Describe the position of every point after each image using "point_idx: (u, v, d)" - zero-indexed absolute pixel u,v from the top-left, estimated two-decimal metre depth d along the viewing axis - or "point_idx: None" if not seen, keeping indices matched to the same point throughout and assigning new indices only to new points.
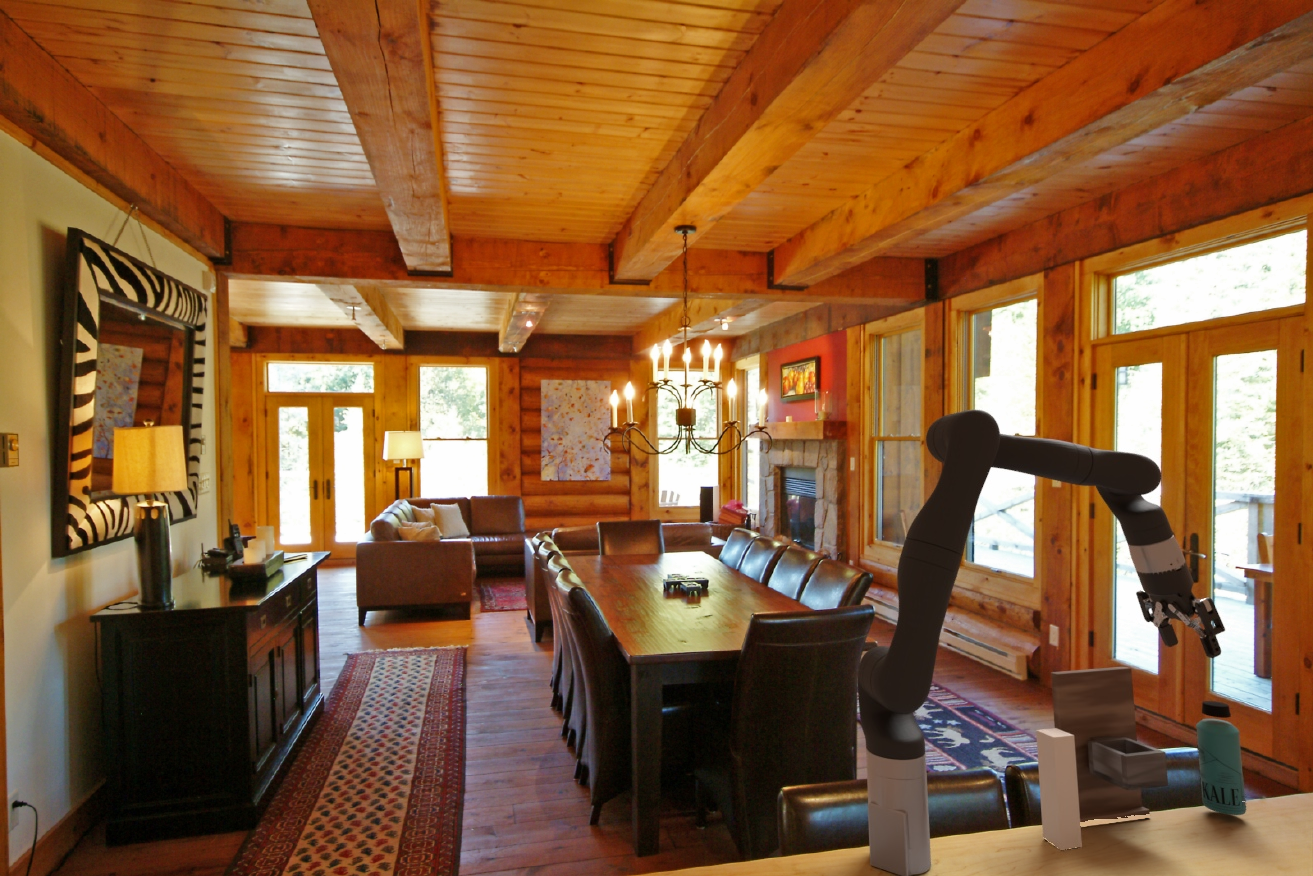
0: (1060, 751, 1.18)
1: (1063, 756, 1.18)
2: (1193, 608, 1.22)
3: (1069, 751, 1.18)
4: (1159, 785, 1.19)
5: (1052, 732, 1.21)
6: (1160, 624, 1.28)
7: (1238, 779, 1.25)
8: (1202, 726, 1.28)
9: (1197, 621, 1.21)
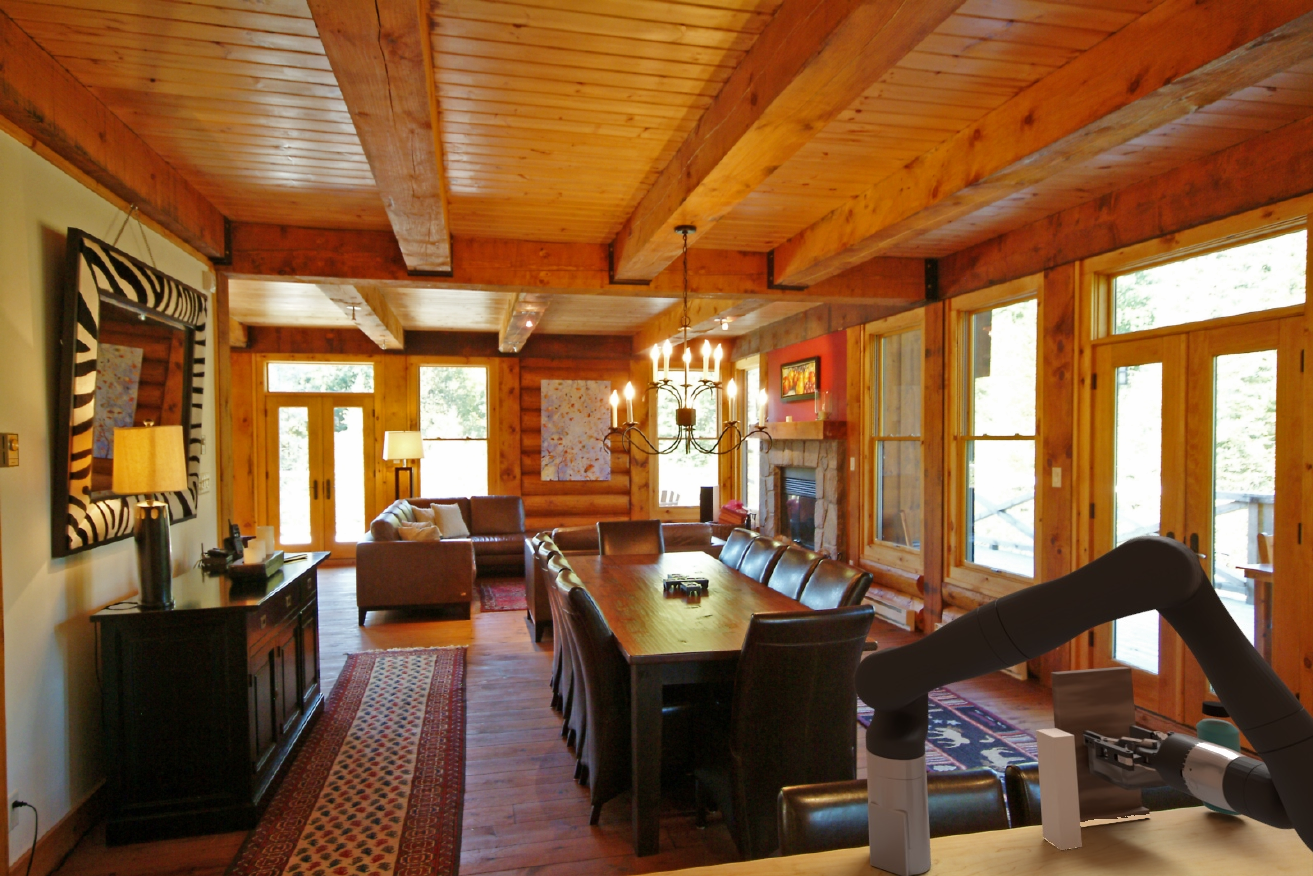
0: (1060, 751, 1.18)
1: (1063, 756, 1.18)
2: None
3: (1069, 751, 1.18)
4: (1159, 785, 1.19)
5: (1052, 732, 1.21)
6: (1154, 734, 1.06)
7: None
8: (1202, 726, 1.28)
9: (1121, 747, 1.03)
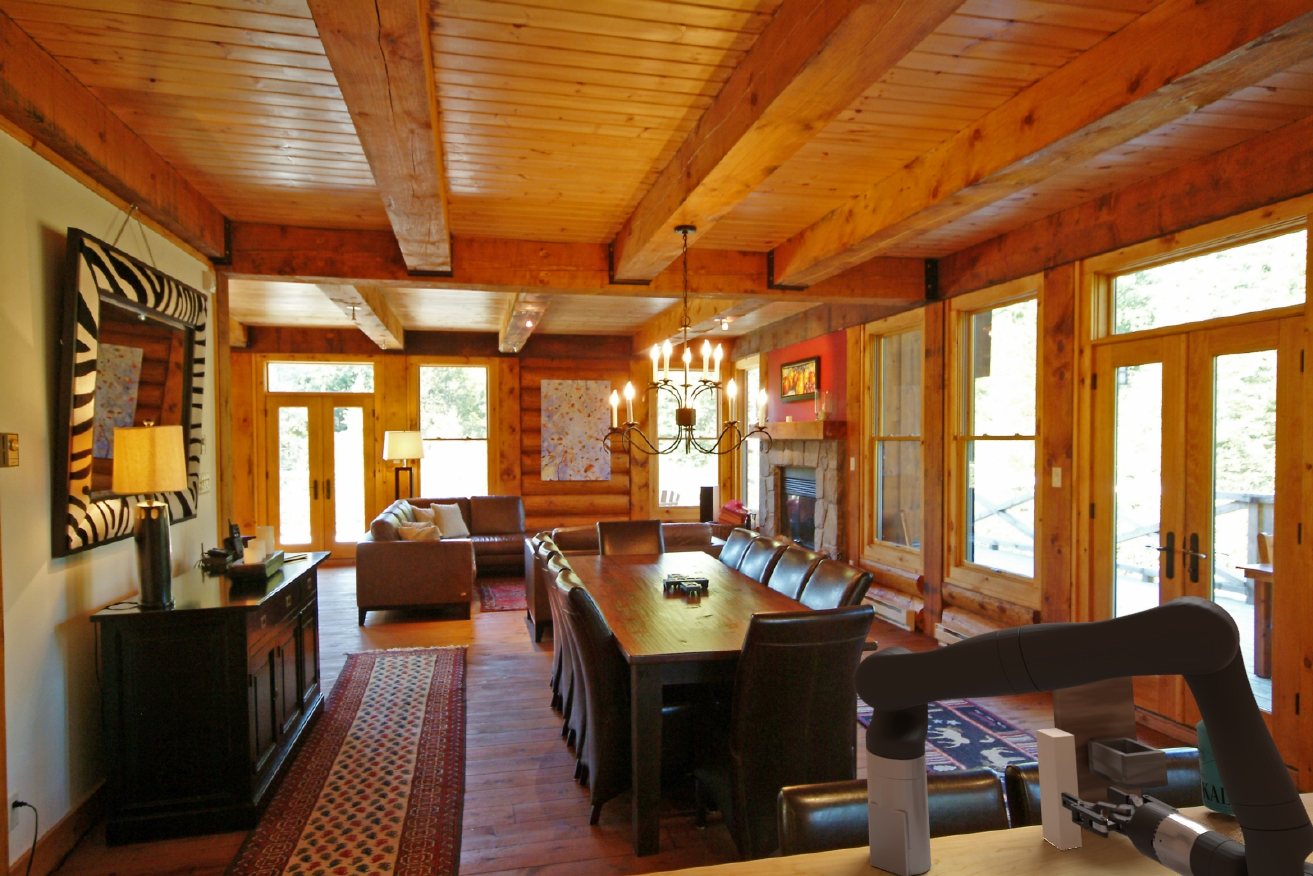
0: (1060, 751, 1.18)
1: (1063, 756, 1.18)
2: None
3: (1069, 751, 1.18)
4: (1159, 785, 1.19)
5: (1052, 731, 1.21)
6: (1130, 798, 1.10)
7: None
8: (1202, 726, 1.28)
9: (1096, 812, 1.07)
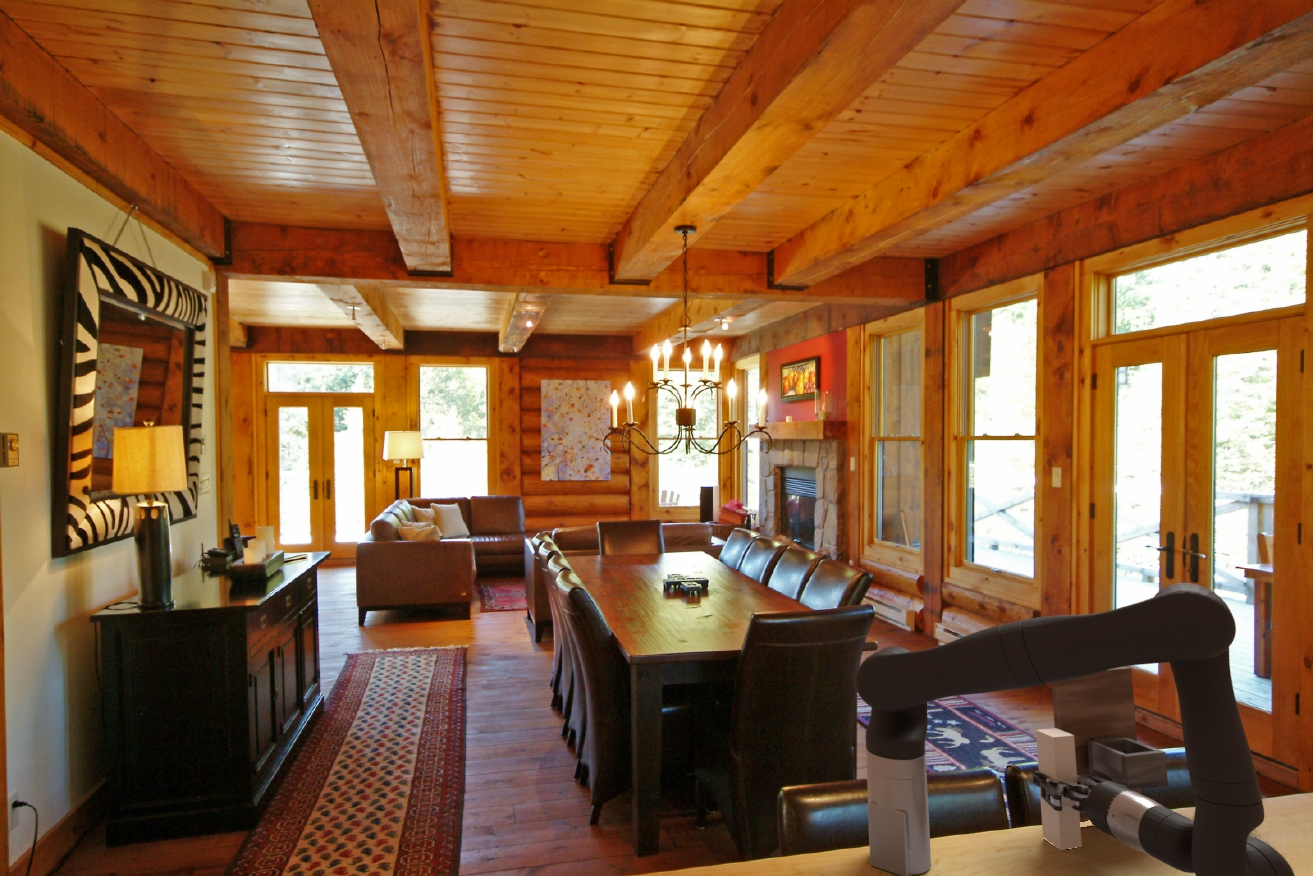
0: (1059, 751, 1.18)
1: (1063, 756, 1.18)
2: None
3: (1069, 751, 1.18)
4: (1159, 785, 1.19)
5: (1052, 731, 1.21)
6: None
7: None
8: None
9: (1060, 789, 1.15)
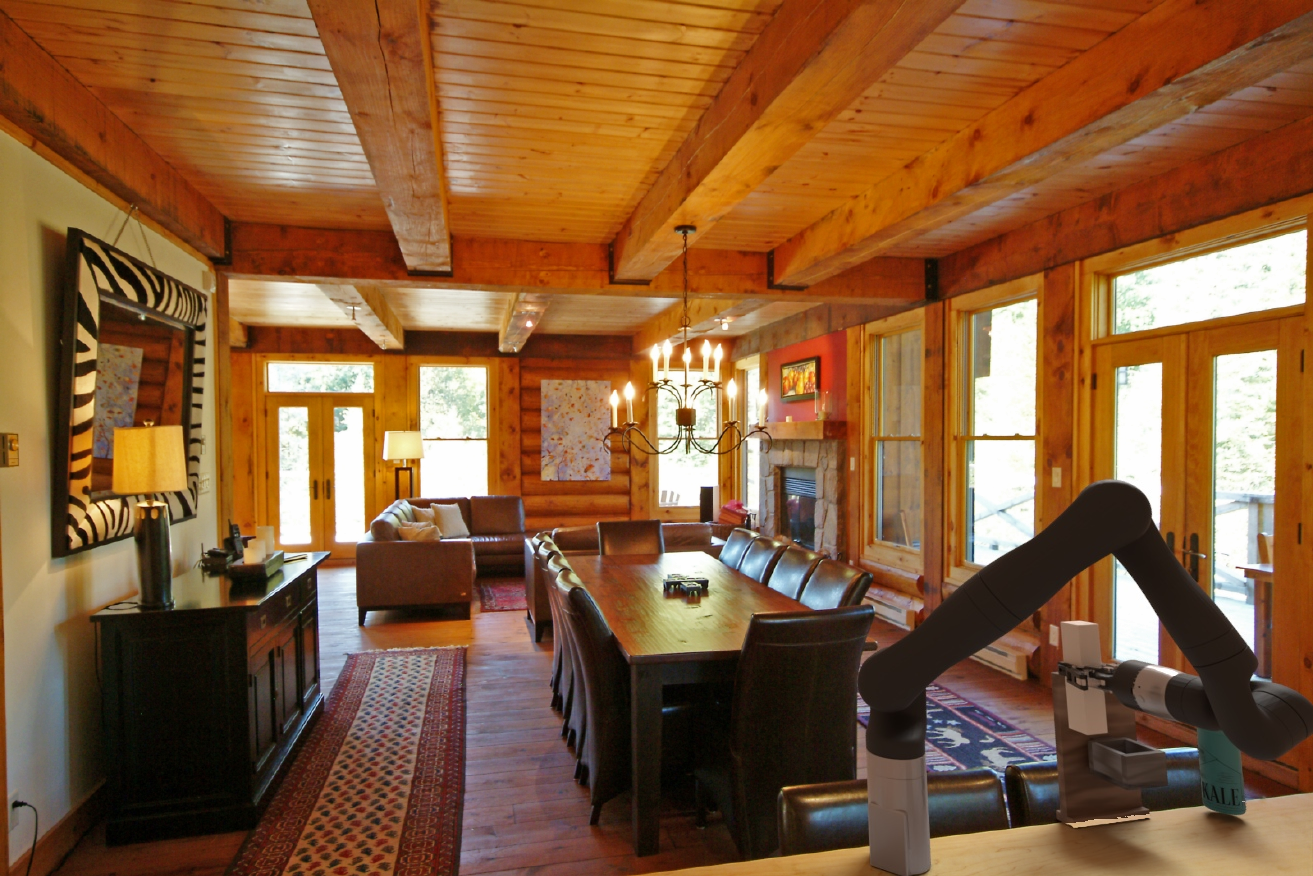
0: (1084, 638, 1.20)
1: (1088, 644, 1.21)
2: None
3: (1093, 639, 1.21)
4: (1159, 785, 1.19)
5: (1076, 622, 1.23)
6: None
7: (1238, 779, 1.25)
8: None
9: (1085, 673, 1.18)
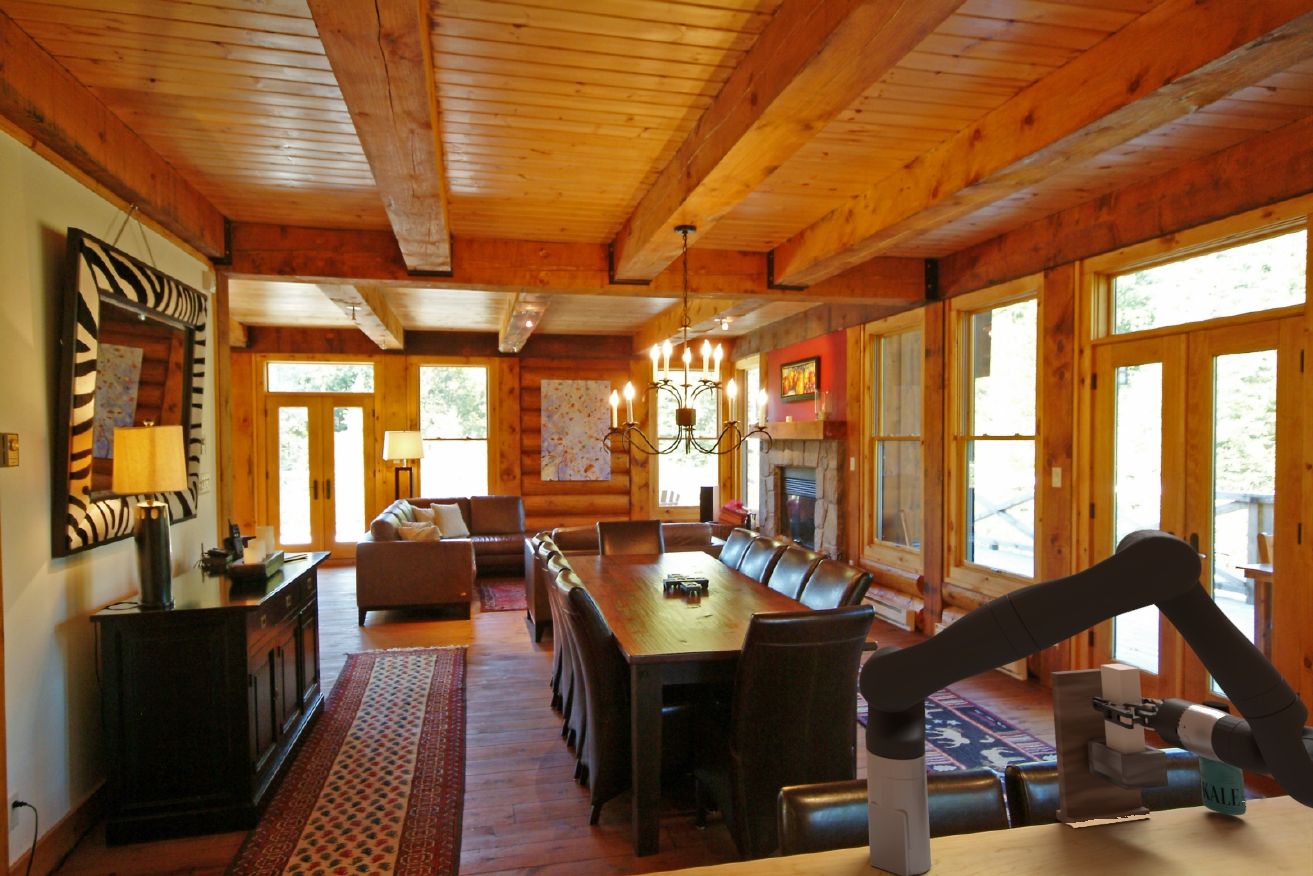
0: (1125, 683, 1.22)
1: (1129, 688, 1.22)
2: None
3: (1134, 683, 1.22)
4: (1159, 785, 1.19)
5: (1116, 666, 1.25)
6: (1147, 701, 1.22)
7: (1238, 779, 1.25)
8: None
9: None
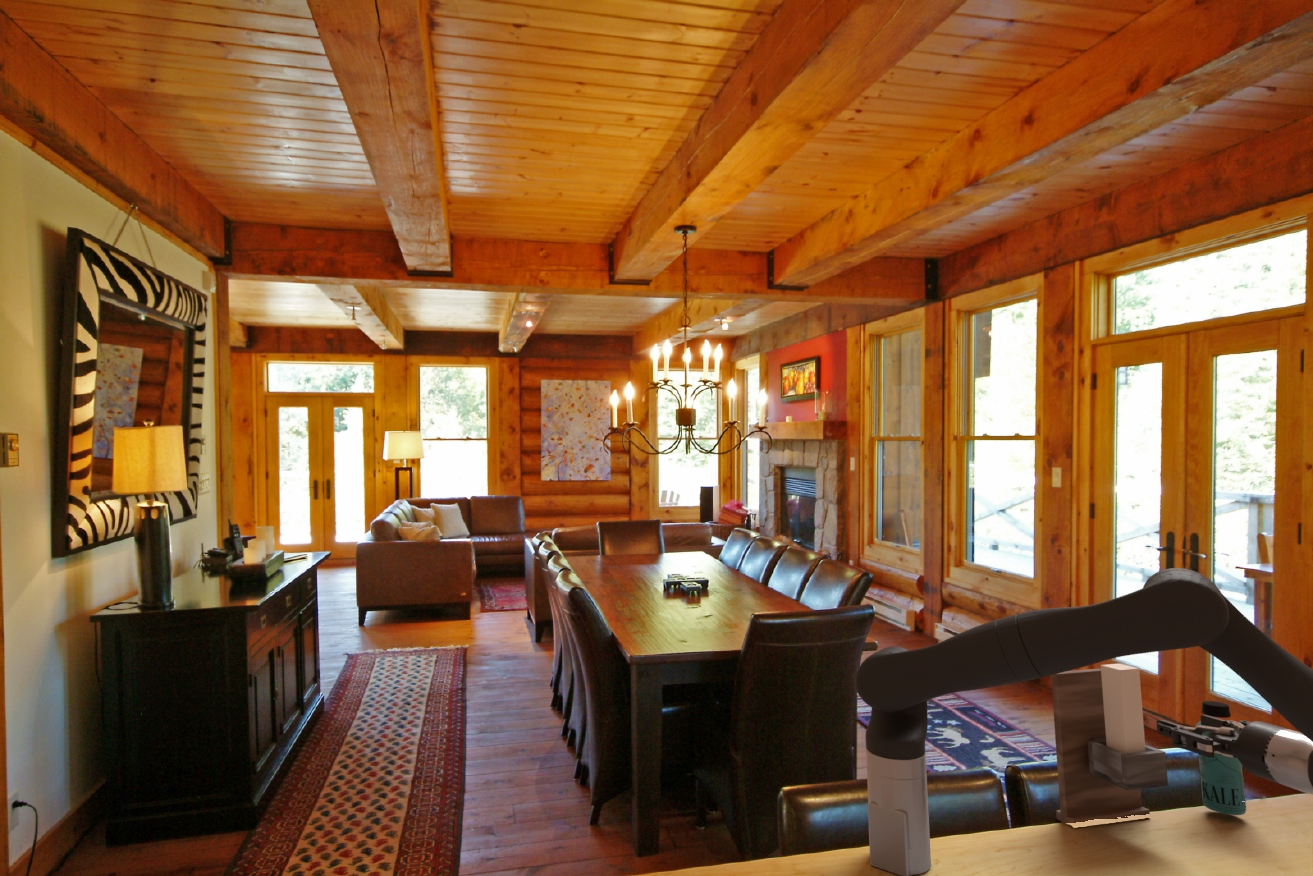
0: (1125, 683, 1.22)
1: (1129, 688, 1.22)
2: None
3: (1134, 683, 1.22)
4: (1159, 785, 1.19)
5: (1117, 666, 1.25)
6: (1227, 723, 1.10)
7: (1238, 779, 1.25)
8: None
9: None
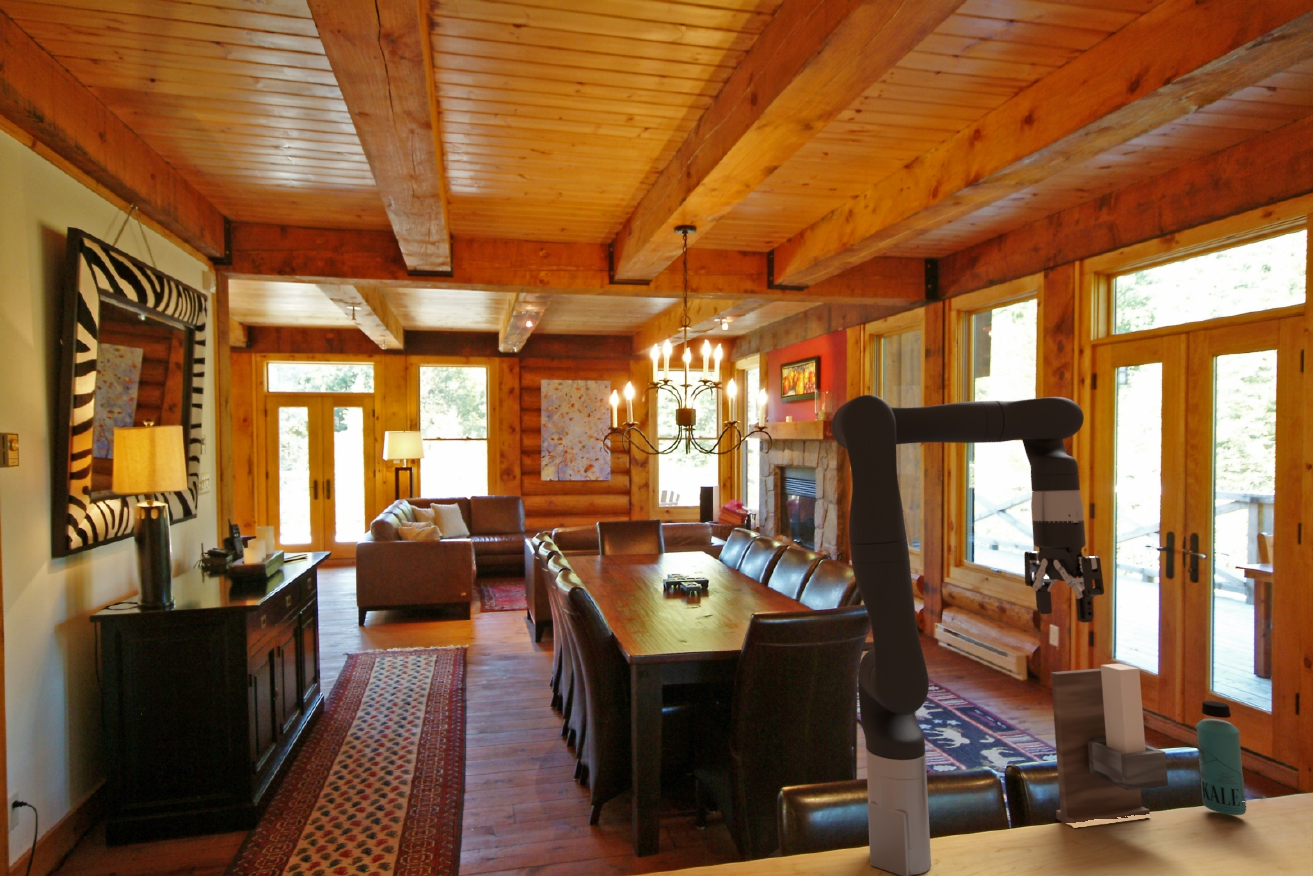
0: (1126, 683, 1.22)
1: (1129, 688, 1.22)
2: (1078, 568, 1.14)
3: (1134, 683, 1.22)
4: (1159, 785, 1.19)
5: (1117, 666, 1.25)
6: (1039, 587, 1.20)
7: (1238, 779, 1.25)
8: (1202, 726, 1.28)
9: (1078, 581, 1.13)
